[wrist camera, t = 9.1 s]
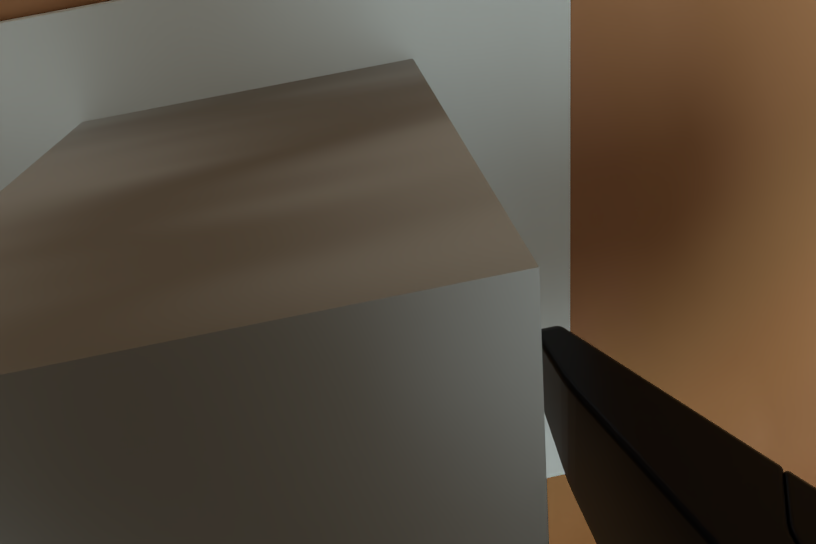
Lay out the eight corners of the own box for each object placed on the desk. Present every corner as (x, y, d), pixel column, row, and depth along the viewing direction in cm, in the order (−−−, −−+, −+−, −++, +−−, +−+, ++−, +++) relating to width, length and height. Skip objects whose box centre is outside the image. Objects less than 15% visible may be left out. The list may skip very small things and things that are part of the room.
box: (412, 58, 9) (538, 267, 3) (469, 452, 13) (557, 776, 8) (82, 122, 8) (-283, 429, 3) (260, 495, 13) (221, 849, 8)
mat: (560, -84, 8) (571, -84, 8) (564, 460, 15) (570, 473, 14) (-140, 47, 8) (-161, 53, 8) (179, 539, 14) (176, 554, 14)
